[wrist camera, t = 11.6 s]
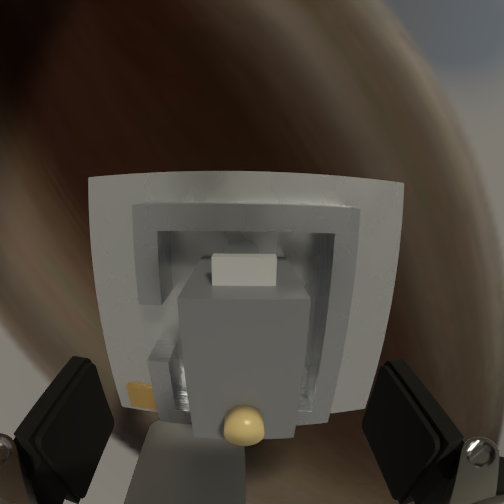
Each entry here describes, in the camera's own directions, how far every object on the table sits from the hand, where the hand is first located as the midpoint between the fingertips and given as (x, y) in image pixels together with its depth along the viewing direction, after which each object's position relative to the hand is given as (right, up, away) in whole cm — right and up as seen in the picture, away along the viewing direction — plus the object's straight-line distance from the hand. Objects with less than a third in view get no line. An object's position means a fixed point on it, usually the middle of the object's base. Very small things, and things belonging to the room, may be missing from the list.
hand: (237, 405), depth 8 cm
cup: (-4, -11, +12) cm, 17 cm away
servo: (0, +1, +8) cm, 8 cm away
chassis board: (0, +1, +9) cm, 9 cm away
